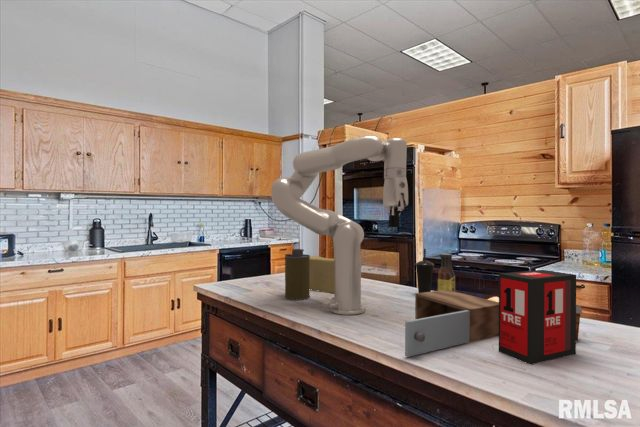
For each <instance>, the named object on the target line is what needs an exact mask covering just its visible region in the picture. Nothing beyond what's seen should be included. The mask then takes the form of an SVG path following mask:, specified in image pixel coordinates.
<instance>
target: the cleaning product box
mask: <svg viewBox="0 0 640 427" xmlns="http://www.w3.org/2000/svg"><path fill="white" fill-rule="evenodd" d="M498 302H499V336H498V353H501V354H503V355H505V356H508V357H511V358H513V359H515V358H516V360H518V361H520V360H521V361H520V362H523V363H525V362H526V364H527V365H530V364H531V365H535V364H540V363H543V362H548V361H552V360H556V359H561V358H565V357H569V356H574V355H577V341H576V306H577V274H573V273H566V272H559V271H554V270H547V269H535V270H525V271H513V272H502V273H501V272H499V273H498ZM539 362H540V363H539Z"/></svg>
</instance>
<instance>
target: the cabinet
mask: <svg viewBox="0 0 640 427" xmlns="http://www.w3.org/2000/svg"><path fill="white" fill-rule="evenodd" d="M414 298H415V300H414V301H415V304H414V305H415V306H414V307H415V308H414V314H415V316H414V318H415V319H420V318H426V317H431V316H437V315H442V314H448V313H453V312H459V311H464V310H468V311H470V326H469V342H468V343H473V342H477V341H482V340H486V339H491V338H496V337H499V301H498V302H497V301H496V300H495V301H494V300H491V299H488V298H487V299H486V298H483V297H479V296H473V295H470V294H466V293H462V292H459V291H455V292H454V291H450V290H440V291H438V290H433V291H432V290H431V292H424V293H418V292H417V293H415V297H414ZM415 319H414V320H415Z"/></svg>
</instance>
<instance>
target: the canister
mask: <svg viewBox="0 0 640 427" xmlns="http://www.w3.org/2000/svg"><path fill="white" fill-rule="evenodd" d="M304 251H305V250H304V249H303V248H293V249H292V253H285V254H284V281H285V283H284V288H285V290H284V292H285V293H284V295H285V296H284V299H286V300H290V301H304V299H305V300H309V299H310V297H311V296H310V290H309V280H310V257H311V255H310V254H304ZM308 298H309V299H308Z"/></svg>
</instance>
